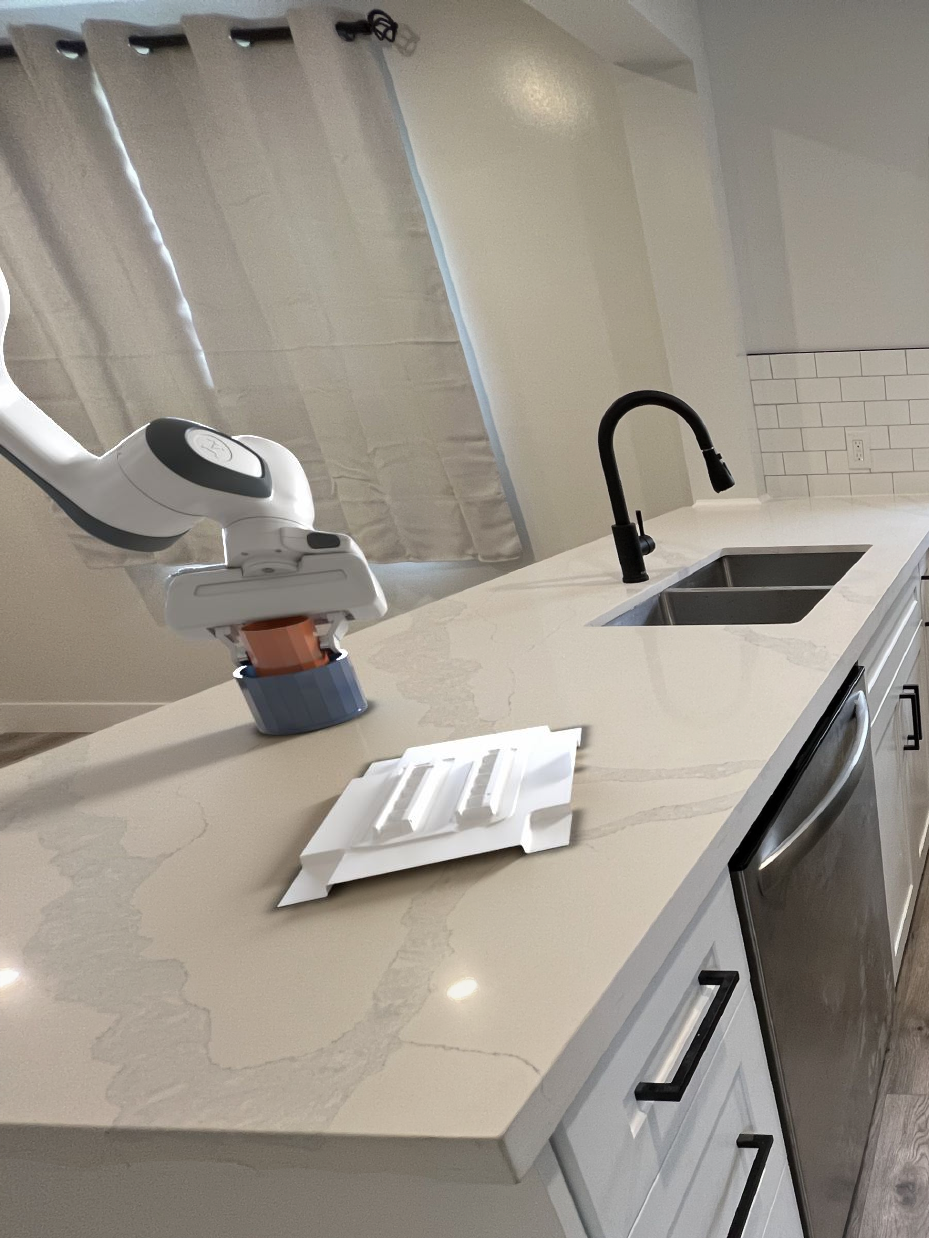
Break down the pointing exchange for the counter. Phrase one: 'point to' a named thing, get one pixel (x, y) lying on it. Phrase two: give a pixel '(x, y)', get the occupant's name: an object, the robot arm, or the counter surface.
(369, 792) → the tray
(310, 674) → the stack cup
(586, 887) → the counter surface
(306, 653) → the terracotta cup
